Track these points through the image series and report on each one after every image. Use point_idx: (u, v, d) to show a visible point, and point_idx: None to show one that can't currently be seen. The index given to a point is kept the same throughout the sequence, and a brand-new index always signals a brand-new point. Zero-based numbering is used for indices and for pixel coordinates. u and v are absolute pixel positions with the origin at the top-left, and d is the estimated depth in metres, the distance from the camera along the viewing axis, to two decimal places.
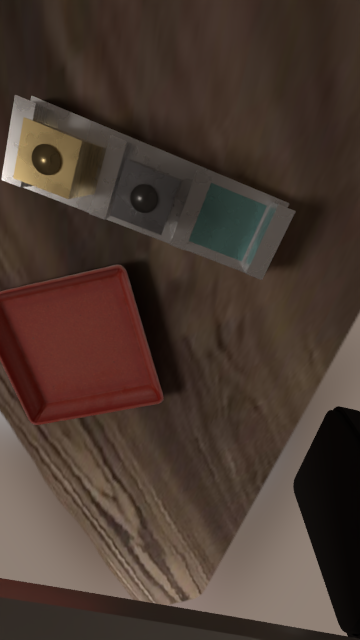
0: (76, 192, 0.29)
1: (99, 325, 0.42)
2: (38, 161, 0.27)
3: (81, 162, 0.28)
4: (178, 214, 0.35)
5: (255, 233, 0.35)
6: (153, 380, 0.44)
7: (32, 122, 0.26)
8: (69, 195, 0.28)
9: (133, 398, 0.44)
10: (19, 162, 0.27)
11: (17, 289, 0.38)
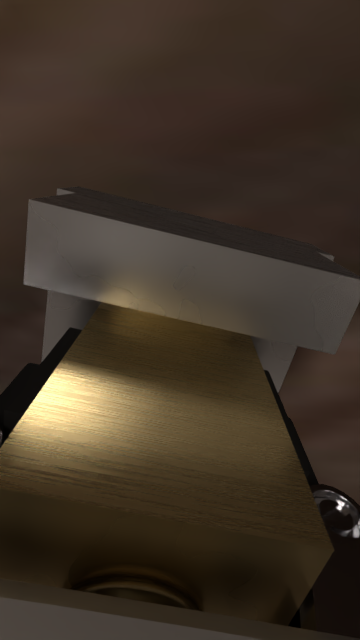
0: None
1: None
2: None
3: None
4: None
5: None
6: None
7: (305, 582, 0.05)
8: None
9: None
10: (82, 518, 0.04)
11: None
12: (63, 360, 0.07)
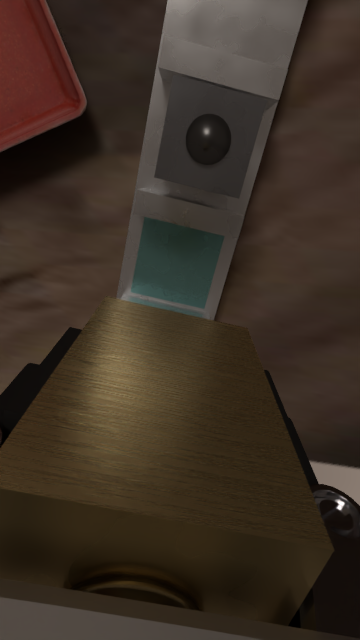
0: None
1: None
2: None
3: None
4: (178, 194, 0.24)
5: (169, 302, 0.28)
6: None
7: (305, 581, 0.05)
8: None
9: None
10: (82, 518, 0.04)
11: None
12: (63, 360, 0.07)
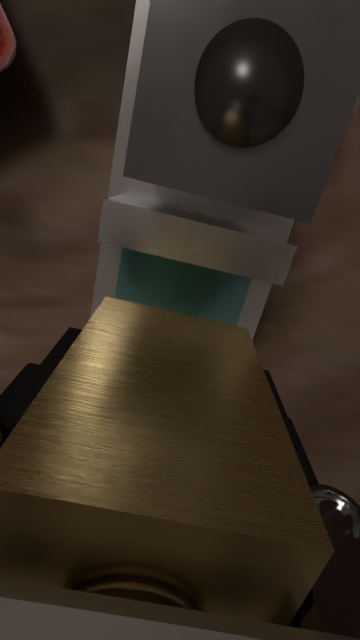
0: None
1: None
2: None
3: None
4: (180, 205, 0.15)
5: None
6: None
7: (305, 582, 0.05)
8: None
9: None
10: (82, 519, 0.04)
11: None
12: (63, 360, 0.07)
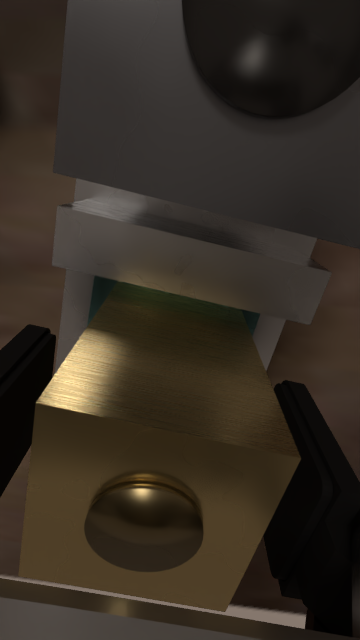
0: None
1: None
2: (131, 510, 0.06)
3: None
4: (169, 212, 0.11)
5: None
6: None
7: (280, 486, 0.06)
8: (33, 576, 0.07)
9: None
10: (113, 432, 0.06)
11: None
12: (87, 327, 0.08)
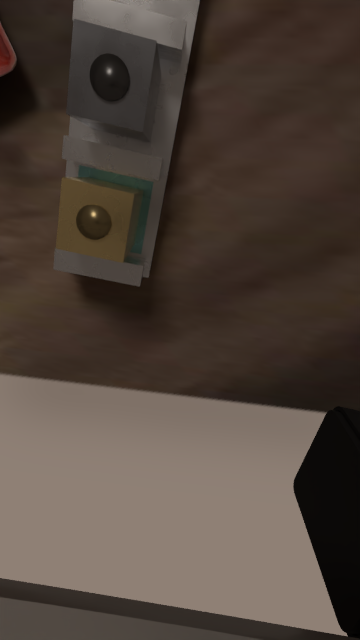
0: None
1: None
2: (89, 213, 0.22)
3: None
4: (108, 144, 0.27)
5: None
6: None
7: (130, 204, 0.22)
8: (60, 249, 0.23)
9: None
10: (82, 186, 0.22)
11: None
12: (75, 177, 0.24)
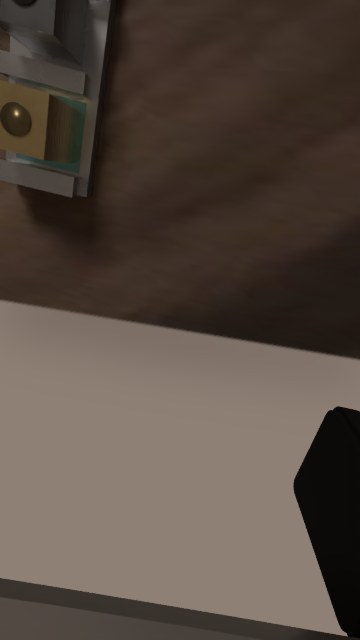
0: None
1: None
2: (10, 110, 0.25)
3: None
4: None
5: (49, 167, 0.33)
6: None
7: (46, 103, 0.25)
8: None
9: None
10: (4, 85, 0.25)
11: None
12: None
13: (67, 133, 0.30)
